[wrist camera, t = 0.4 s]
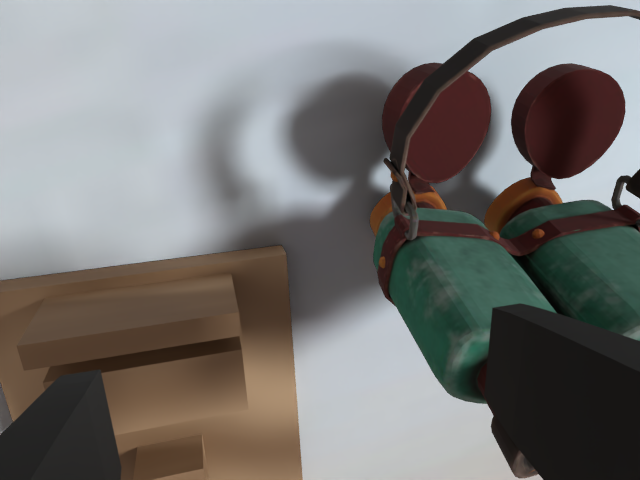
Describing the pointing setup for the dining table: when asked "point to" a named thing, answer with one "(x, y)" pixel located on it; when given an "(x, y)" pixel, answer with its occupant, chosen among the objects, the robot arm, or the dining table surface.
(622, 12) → the binoculars
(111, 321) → the stand
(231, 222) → the dining table surface
